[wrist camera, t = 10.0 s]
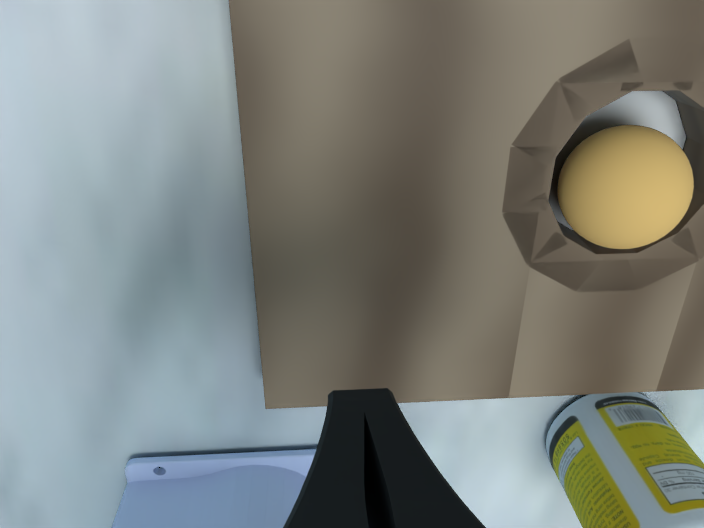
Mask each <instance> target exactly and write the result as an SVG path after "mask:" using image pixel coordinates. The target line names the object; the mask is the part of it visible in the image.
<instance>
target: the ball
mask: <svg viewBox="0 0 704 528" xmlns="http://www.w3.org/2000/svg"><path fill="white" fill-rule="evenodd" d="M693 188H694V178H693V172H692V168H691V165H690V162H689V160H688V158H687V156H686V154H685V153H684V152H683V150H682V149H681V148H680V146H679V145H678V144H677V143H675V142H674V141H673V140H672V139H671V138H670V137H668V136H667V135H665V134H663V133H661V132H659V131H657V130H654V129H652V128H648V127H644V126H638V125H620V126H615V127H610V128H607V129H603V130H601V131H599V132H597V133H594V134H593V135H591V136H589V137H588V138H586V139H585V140H583V141H582V142H581V143H580V144H579V145H578V146H576V148H575V149H574V150H573V151H572V152H571V153H570V155H569V156H568V158H567V159H566V161H565V163H564V165H563V167H562V169H561V172H560V175H559V179H558V189H557V193H558V201H559V205H560V209H561V211H562V214H563V216H564V217H565V219H566V221H567V222H568V224H569V225H570V226H571V227H572V229H573V230H574V231H575V232H577V233H578V234H579V235H580V236H582V237H583V238H585V239H586V240H588V241H590V242H592V243H594V244H596V245H599V246H602V247H607V248H613V249H631V248H637V247H641V246H645V245H648V244H650V243H652V242H655V241H657V240H659V239H660V238H662V237H664V236H665V235H666V234H668V233H669V232H670V231H672V230H673V229H674V228H675V227H676V225H677V224H678V223H679V222H680V221H681V219H682V218H683V217H684V215H685V214H686V212H687V210H688V208H689V205H690V202H691V199H692V195H693Z"/></svg>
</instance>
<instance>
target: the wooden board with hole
mask: <svg viewBox="0 0 704 528" xmlns="http://www.w3.org/2000/svg"><path fill="white" fill-rule="evenodd" d="M229 8H230V19H231V31H232V42H233V53H234V64H235V75H236V86H237V97H238V108H239V119H240V130H241V142H242V153H243V164H244V175H245V186H246V197H247V208H248V219H249V230H250V241H251V252H252V264H253V275H254V286H255V297H256V308H257V319H258V330H259V341H260V352H261V363H262V375H263V386H264V397H265V408H266V409H274V408H296V407H318V406H327V404H328V394H329V393H331V392H332V391H333V390H355V389H378V388H388V389H389V390H390V391H391V392H392V393H393V395H394V398H395V400H396V402H397V403H407V402H429V401H452V400H474V399H496V398H518V397H540V396H562V395H585V394H607V393H629V392H651V391H673V390H695V389H704V0H229ZM631 91H663V92H665V93H666V94H668V95H669V96H670V97H672V98H673V99H675V100H676V102H677V105H678V108H679V112H680V115H681V119H682V122H683V126H684V129H685V132H686V136H687V139H686V142H685V146H684V150H683V152H684V153H685V154H686V156H687V158H688V160H689V162H690V165H691V168H692V172H693V178H694V188H693V195H692V199H691V202H690V205H689V208H688V210H687V212H686V214H685V215H684V217H683V218H682V219H681V221H680V222H679V223H678V224H677V225H676V227H675V228H674V229H673V230H672V231H670V232H669V233H668V234H666V235H665V236H664V237H662V238H660V239H659V240H657V241H655V242H652V243H650V244H648V245H645V246H641V247H637V248H631V249H613V248H607V247H602V246H599V245H596V244H594V243H592V242H590V241H588V240H586V239H585V238H583V237H582V236H580V235H579V234H578V233H577V232H575V231H574V230H571V229H569V228H567V227H565V226H564V225H562V224H560V223H559V222H557V220H556V218H555V215H554V213H553V211H552V208H551V206H550V204H549V202H548V200H549V194H550V188H551V182H552V176H553V170H554V165H555V159H556V156H557V155H558V154H559V152H560V151H561V150H562V148H563V147H564V145H565V144H566V143H567V141H568V140H569V139H570V137H571V136H572V135H573V133H574V132H575V131H576V129H577V128H578V127H579V125H580V124H581V123H582V121H583V120H584V119H585V117H586V116H588V115H589V114H591V113H593V112H595V111H597V110H598V109H600V108H602V107H604V106H606V105H608V104H609V103H611V102H613V101H615V100H617V99H618V98H620V97H622V96H624V95H626V94H628V93H629V92H631Z"/></svg>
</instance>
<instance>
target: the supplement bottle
mask: <svg viewBox="0 0 704 528" xmlns="http://www.w3.org/2000/svg"><path fill="white" fill-rule="evenodd" d="M546 450H547V455H548V457H549V460H550V462H551V465H552V467H553V469H554V471H555V473H556V475H557V477H558V479H559V481H560V483H561V485H562V487H563V489H564V491H565V493H566V495H567V497H568V499H569V501H570V503H571V505H572V507H573V509H574V511H575V513H576V515H577V517H578V519H579V521H580V523H581V525H582V527H583V528H704V464H703V462H702V461H701V460H700V459H699V457H698V456H697V455H696V454H695V452H694V451H693V450H692V449H691V448H690V446H689V445H688V444H687V442H686V441H685V440H684V439H683V438H682V436H681V435H680V434H679V432H678V431H677V430H676V429H675V428H674V426H673V425H672V424H671V423H670V421H669V420H668V419H667V418H666V416H665V415H664V414H663V413H662V412H661V410H660V409H659V408H658V407H657V406H656V405H655V404H654V403H653V402H652V401H651V400H650V399H649V398H647V397H646V396H644V395H642V394H640V393H637V392H629V393H607V394H589V395H587V396H584V397H582V398H580V399H578V400H577V401H575V402H573V403H572V404H571V405H569V406H568V407H567V408H565V409H564V410H563V411H562V412H561V413H560V414H559V415H558V416H557V418H556V419H555V420H554V422H553V423H552V425H551V427H550V429H549V431H548V434H547V438H546Z"/></svg>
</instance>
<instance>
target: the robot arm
mask: <svg viewBox="0 0 704 528" xmlns="http://www.w3.org/2000/svg"><path fill="white" fill-rule="evenodd" d="M158 467H162V468H163V469H162V468H158ZM125 475H126V479H127V485H126V488H125V491H124V493H123V496H122V499H121V502H120V505H119V508H118V511H117V514H116V516H115V519H114V522H113V525H112V528H486V527H485V526H484V525H483V524H482V523H481V522H480V521H479V520H478V519H477V517H476V516H475V515H474V514H473V513H472V512H471V511H470V510H469V508H468V507H467V506H466V505H465V504H464V502H463V501H462V500H461V499H460V498H459V496H458V495H457V494H456V493H455V491H454V490H453V489H452V487H451V486H450V485H449V483H448V482H447V481H446V480H445V478H444V477H443V476H442V474H441V473H440V472H439V470H438V469H437V467H436V466H435V465H434V463H433V462H432V460H431V459H430V457H429V456H428V454H427V453H426V451H425V450H424V448H423V447H422V445H421V444H420V442H419V441H418V439H417V438H416V436H415V434H414V433H413V431H412V429H411V428H410V426H409V424H408V423H407V421H406V419H405V417H404V415H403V414H402V412H401V410H400V408H399V406H398V404H397V402H396V400H395V398H394V395H393V393H392V392H391V391H390V390H389V389H388V388H378V389H355V390H333V391H332V392H331V393H329V394H328V404H327V412H326V417H325V421H324V425H323V429H322V433H321V437H320V440H319V443H318V446H317V449H308V450H288V451H267V452H247V453H227V454H207V455H187V456H166V457H146V458H134V459H131V460H129V461H128V463H127V464H126V467H125Z"/></svg>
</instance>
